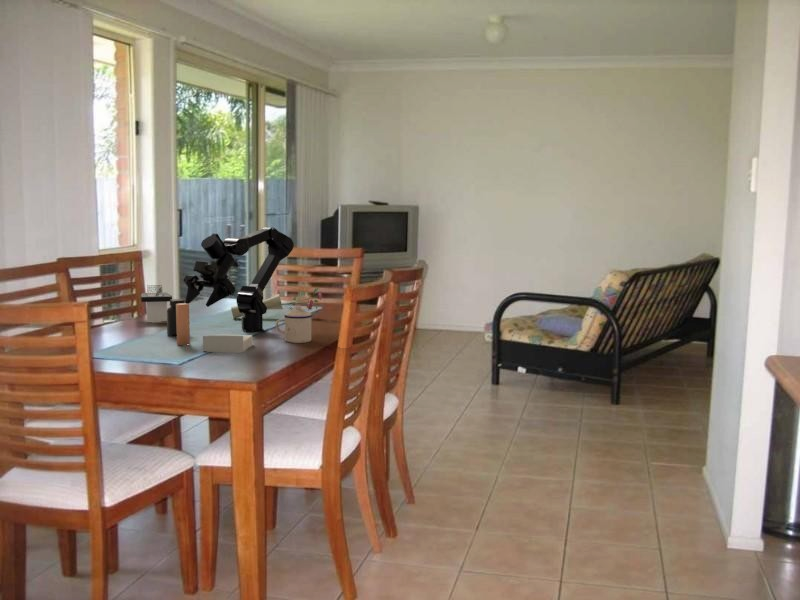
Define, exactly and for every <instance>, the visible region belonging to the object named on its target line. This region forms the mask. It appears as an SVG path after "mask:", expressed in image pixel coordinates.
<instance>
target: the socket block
mask: <svg viewBox="0 0 800 600" xmlns="http://www.w3.org/2000/svg"><path fill="white" fill-rule="evenodd" d="M252 346H253V335H252V334H251V335H249V334H247V335H246V334H244V335H243V334H203V335H202V351H207V352H206V353H230V354H231V353H236V354H237V353H238V354H242V353H245V351H247V349H249V348H251V347H252Z"/></svg>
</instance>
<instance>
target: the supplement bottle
mask: <svg viewBox="0 0 800 600" xmlns="http://www.w3.org/2000/svg"><path fill="white" fill-rule="evenodd" d="M180 303H185V299H180V298H177V299H176V298H172V300H170V301H169V306H170V307H167V322H166V334H167V336H170V335H177V327H176V304H180Z"/></svg>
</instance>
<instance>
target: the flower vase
mask: <svg viewBox="0 0 800 600" xmlns="http://www.w3.org/2000/svg"><path fill="white" fill-rule="evenodd" d="M318 290H319V287H318V286H317V287H316V288H315V289H314V291H313V293H312V297H310V298H309V297H308V298H306V299H303V300H301V297H303V296H304V289H301V291H302V292H301V293H300V291H298V299H296V295H295V296H293V298H292V301H291V302H289V303H282V299H281V296H280V293H278V294H275V295H273V296H272V297H269V298H267V299H265V300H263V301H262V302H263V303H264V304H265V305H266V307H267V311H268V310H269V311H270V310H283V306H286V305H289V307H287V306H286V308H288V309H290V311H291V310H293V309H295V306H296V305H306V309H308V310H312V309H313V305H315V310H318V306H317V305H316V304H314V303H318V302H319V300H320V301H322V300H323V294H322V293H321V292H319V293H318V294H317V296H314V295H315V294H316V293H317V292H318ZM314 298H315V299H314ZM316 298H317V299H316ZM313 299H314V300H313ZM303 301H306V303H304V302H303ZM290 305H293V307H291V306H290ZM230 310H231V314H232V318H233V319H234V320H235V319H238V318H242V317H243V313H239V309H238V306H237V305H236V306H235V305H233V306H231V307H230Z"/></svg>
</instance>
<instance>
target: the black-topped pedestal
mask: <svg viewBox="0 0 800 600" xmlns="http://www.w3.org/2000/svg"><path fill="white" fill-rule="evenodd" d="M146 285H147V284H146ZM146 287H147V292H144V293H143V292H142V293H141V295H140V302H141V303H146V323H147V322H152V323H160V322H159V321H167V309H168V302H170V300H172V299H173V295H172V294H170V293H168V292H163V291H164V290H163V284H159V285H158V284H157V285H152V284H151V285H149V284H148V285H147V286H146Z"/></svg>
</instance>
